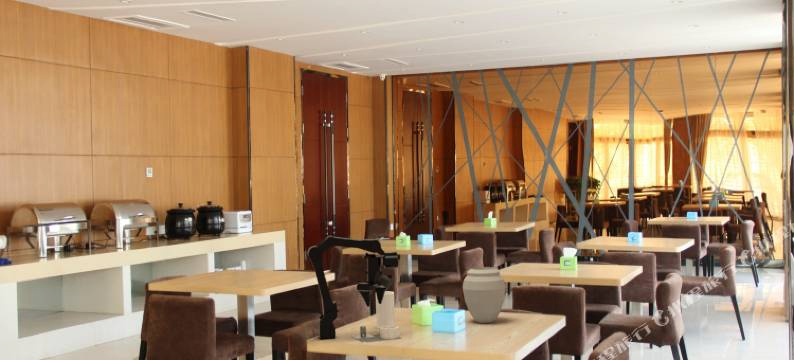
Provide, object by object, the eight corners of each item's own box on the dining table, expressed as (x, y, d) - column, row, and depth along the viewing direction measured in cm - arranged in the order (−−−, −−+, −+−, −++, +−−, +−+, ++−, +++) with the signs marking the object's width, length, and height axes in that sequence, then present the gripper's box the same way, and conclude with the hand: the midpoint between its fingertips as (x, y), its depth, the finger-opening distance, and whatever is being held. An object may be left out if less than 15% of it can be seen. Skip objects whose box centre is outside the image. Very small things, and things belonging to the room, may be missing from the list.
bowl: (384, 340, 331) (383, 329, 331) (378, 337, 338) (377, 326, 338) (401, 338, 334) (401, 327, 334) (395, 335, 341) (395, 325, 341)
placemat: (362, 343, 328) (362, 342, 328) (353, 337, 341) (353, 337, 341) (402, 339, 333) (402, 338, 333) (391, 334, 347) (391, 333, 347)
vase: (513, 319, 371) (511, 266, 371) (495, 326, 355) (493, 271, 355) (475, 317, 382) (473, 265, 382) (456, 324, 365) (454, 270, 365)
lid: (357, 339, 334) (356, 328, 334) (352, 336, 341) (351, 326, 341) (374, 338, 337) (374, 327, 337) (369, 335, 344) (368, 324, 344)
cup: (393, 330, 356) (391, 293, 356) (375, 330, 357) (373, 293, 358) (397, 326, 364) (395, 291, 364) (379, 326, 366) (377, 291, 366)
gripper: (378, 271, 333) (378, 309, 332) (401, 267, 349) (401, 303, 348) (355, 270, 338) (355, 307, 338) (379, 266, 354) (379, 302, 354)
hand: (374, 305), depth 345 cm, fingers open, 9 cm apart
